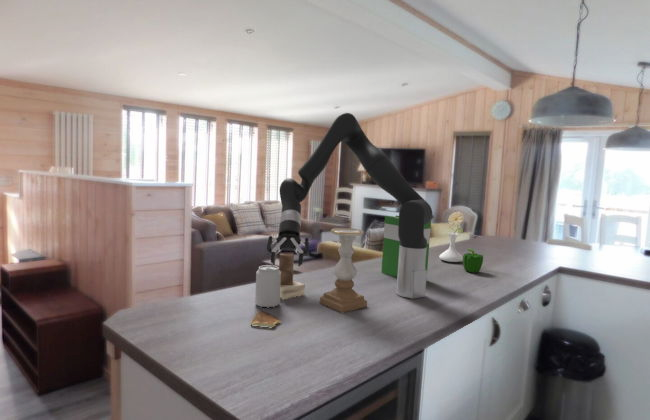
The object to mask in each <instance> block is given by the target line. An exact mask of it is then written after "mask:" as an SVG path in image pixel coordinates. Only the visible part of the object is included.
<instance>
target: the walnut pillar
mask: <svg viewBox="0 0 650 420" xmlns="http://www.w3.org/2000/svg"><path fill="white" fill-rule="evenodd" d="M294 256H295V252H291V251H289V252H285V251H283V252H282V251H280V252H279V259H278V261H279V262H278V267H279V270H280V272H281V283H280V285H292V283H293V280H294V263H295V262H294V260H295V259H294V258H295V257H294Z"/></svg>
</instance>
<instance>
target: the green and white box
mask: <svg viewBox="0 0 650 420" xmlns="http://www.w3.org/2000/svg"><path fill="white" fill-rule="evenodd" d="M398 223H399V215H395V217H394V216H388V215H385V216H384V227H383V229H384V230H383V244H382V255H381V257H382V260H381V272H380V273H382V274H385V275H386V276H387V275H388V276H391V277H395V278H397V275H398V261H399V248H400V240H399V236H398ZM431 228H432V220H431V221H430V222H429V223H428V224H426V225H424V237H425V238H426V239H427V249H426V262H425V270H427V271H428V266H429V264H428V263H429V253H430V252H429V251H430V241H431V239H430V237H431V230H432V229H431ZM426 281H427V278H426Z"/></svg>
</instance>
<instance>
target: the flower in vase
mask: <svg viewBox="0 0 650 420" xmlns="http://www.w3.org/2000/svg"><path fill="white" fill-rule="evenodd" d="M463 221H465V215H464V214H463V213H462V212H461V211H455V212H452V214H450V215H449V217H448V225H449V226H448V227H449V228H450V229H451V230H453V231H454V232H447V234H448V237H449V248H447V249H446V250H445V251H443V252H442V253H440V254H439V255H438V256H439V259H440V260H442V261H445V262H449V263H460V262H463V256H462V255H461V254H460V252H458V251H457V250H456V246H455V245H456V239H457V237H458V236H459V234H460V233H461V234H462V233H464V230H463V227H459V226H460V225H461V224H463ZM456 226H457V228H456V229H454V228H453V227H456ZM456 232H458V233H456Z"/></svg>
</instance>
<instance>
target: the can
mask: <svg viewBox="0 0 650 420" xmlns="http://www.w3.org/2000/svg"><path fill="white" fill-rule="evenodd" d="M280 283H281V272H280V270H279V265H278V266H277V265H273V264H265V265H260V266H258V269H257V271H256V273H255V297H254V298H255V300H254V302H255V305H257V306H258V307H259V306H260V307H259V308H262V307H267V308H266V309H270V308H269V307H273V308H275V306H276V307H277V306H278V305H280V302H281V301H280V300H281V299H280Z"/></svg>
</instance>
